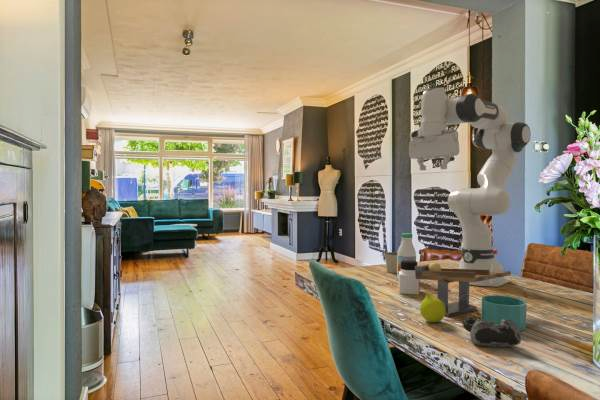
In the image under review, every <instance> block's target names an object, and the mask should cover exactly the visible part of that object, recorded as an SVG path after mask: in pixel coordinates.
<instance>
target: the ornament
mask: <svg viewBox="0 0 600 400" xmlns="http://www.w3.org/2000/svg"><path fill="white" fill-rule="evenodd" d="M424 291H425V296H424V298H423V300H422V301H421V303H420V306H419V311H420V312H419V313H420V315H421V317H422V319H424V320H425V321H426V322H429V323H438V322H440V321H442V320H443V319H444V317H446V316H445V313H446V309H445V306H444V304H443V302H442V301H441V300H439V299H438V298H437V297H435V296H432V295H431V294H429V292H428V290H424Z"/></svg>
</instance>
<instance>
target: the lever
mask: <svg viewBox="0 0 600 400" xmlns="http://www.w3.org/2000/svg"><path fill="white" fill-rule="evenodd" d="M430 264H431V263H428V264H422V265H421V264H420V265H417V266H415V275H416V279H419V280H428V281H429V280H431V281H438V280H443V281H447V282H448V284H449V283H454V282H459V281H461V282H478V281H483V280H488V279H493V278H498V277H503V276H504V277H507V276H512V274H511V271H509V270H504V271H492V272H490V271H489V270H482V269H459V268H443V267H441V271H429V265H430Z"/></svg>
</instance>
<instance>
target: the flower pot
mask: <svg viewBox="0 0 600 400" xmlns="http://www.w3.org/2000/svg"><path fill="white" fill-rule="evenodd" d="M397 253H398V251H395V252H393V251H392V252H391V251H390V252H389V251H387V252H383V255H384V258H385V263H386V272H387V273H390V274H397Z"/></svg>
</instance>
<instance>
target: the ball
mask: <svg viewBox="0 0 600 400" xmlns="http://www.w3.org/2000/svg"><path fill="white" fill-rule="evenodd" d="M429 264H430V265H429V271H441V268H442V266H441V265H440V263H438V262H431V263H429Z"/></svg>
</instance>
